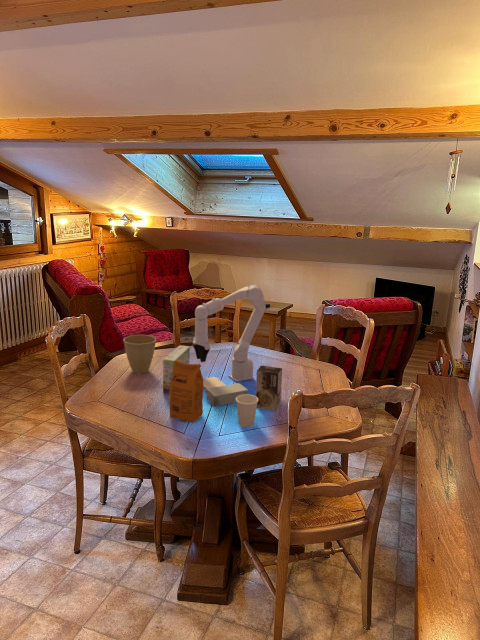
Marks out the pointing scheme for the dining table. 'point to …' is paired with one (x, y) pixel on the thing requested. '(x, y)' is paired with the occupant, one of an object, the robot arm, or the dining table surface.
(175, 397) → the coffee package
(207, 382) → the tile
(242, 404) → the dixie cup
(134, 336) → the plant pot
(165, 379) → the snack box
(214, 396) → the beige slab
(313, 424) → the dining table surface
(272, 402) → the coffee box
